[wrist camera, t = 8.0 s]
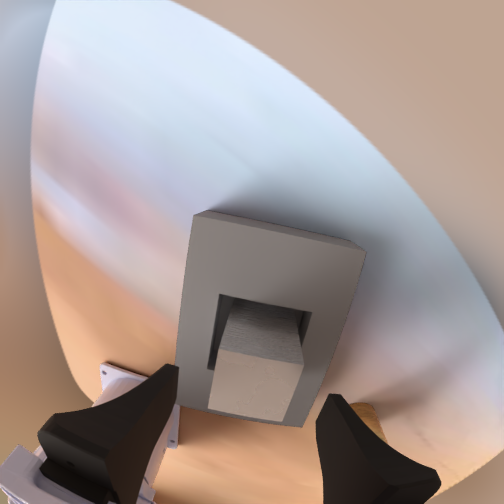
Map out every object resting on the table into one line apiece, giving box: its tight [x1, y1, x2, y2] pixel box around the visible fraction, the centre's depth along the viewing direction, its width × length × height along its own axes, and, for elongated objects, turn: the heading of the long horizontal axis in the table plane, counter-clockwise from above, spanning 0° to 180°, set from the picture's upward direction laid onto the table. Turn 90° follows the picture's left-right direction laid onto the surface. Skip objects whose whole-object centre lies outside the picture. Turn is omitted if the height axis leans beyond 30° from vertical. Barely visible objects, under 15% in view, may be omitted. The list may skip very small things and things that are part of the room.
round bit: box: [350, 403, 388, 444], centre depth 19 cm, size 4×4×7 cm
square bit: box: [208, 297, 304, 422], centre depth 16 cm, size 4×4×7 cm
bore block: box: [175, 210, 366, 427], centre depth 19 cm, size 14×10×4 cm
